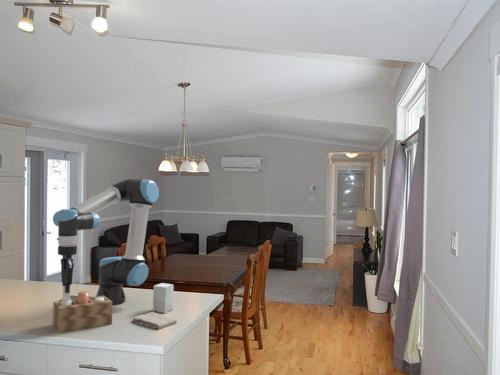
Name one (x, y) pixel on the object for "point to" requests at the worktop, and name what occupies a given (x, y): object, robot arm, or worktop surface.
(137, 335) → the worktop surface
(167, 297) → the supplement box
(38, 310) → the worktop surface
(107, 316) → the walnut socket block
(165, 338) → the worktop surface
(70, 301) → the grey plug
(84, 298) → the terracotta plug
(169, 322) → the washcloth
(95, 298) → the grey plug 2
